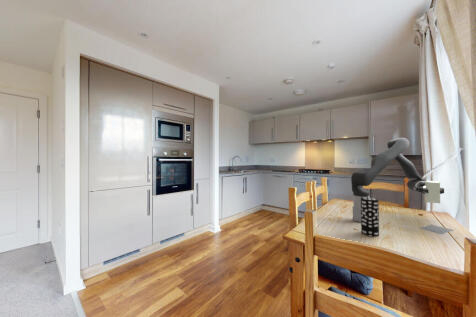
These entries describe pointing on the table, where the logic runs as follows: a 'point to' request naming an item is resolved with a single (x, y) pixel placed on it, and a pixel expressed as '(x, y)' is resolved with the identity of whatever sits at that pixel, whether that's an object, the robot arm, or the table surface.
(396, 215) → the table surface
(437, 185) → the sage block
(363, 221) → the spotted tube
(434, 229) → the mat
